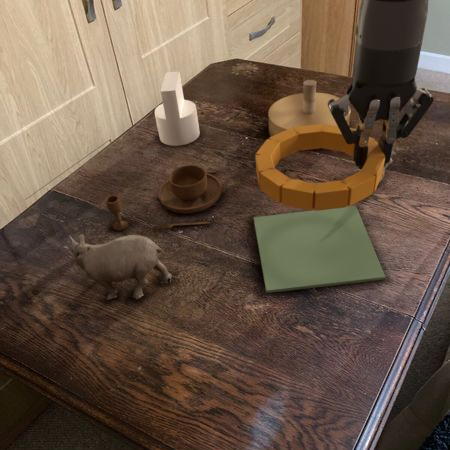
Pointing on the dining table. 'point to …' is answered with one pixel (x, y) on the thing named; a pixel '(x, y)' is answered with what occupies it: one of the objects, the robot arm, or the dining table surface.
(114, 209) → the place setting
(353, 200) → the ring
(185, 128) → the base with upright slab
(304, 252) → the mat
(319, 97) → the ring stand
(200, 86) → the dining table surface
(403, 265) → the dining table surface
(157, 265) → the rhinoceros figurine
